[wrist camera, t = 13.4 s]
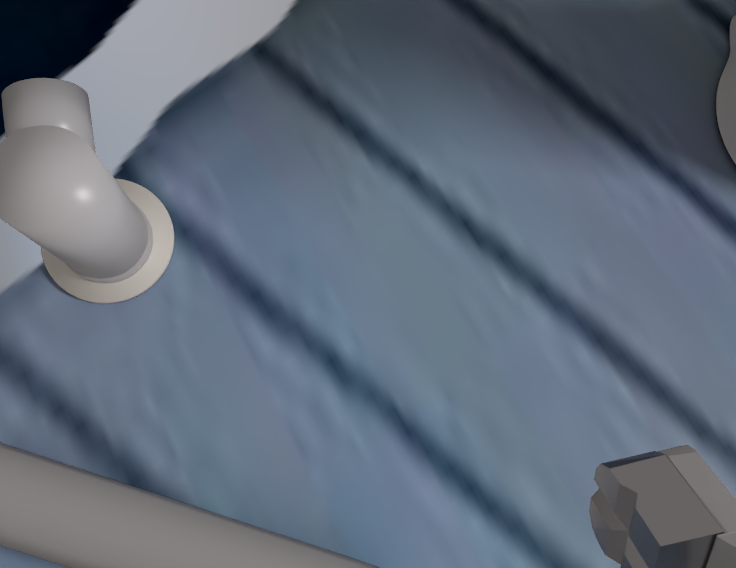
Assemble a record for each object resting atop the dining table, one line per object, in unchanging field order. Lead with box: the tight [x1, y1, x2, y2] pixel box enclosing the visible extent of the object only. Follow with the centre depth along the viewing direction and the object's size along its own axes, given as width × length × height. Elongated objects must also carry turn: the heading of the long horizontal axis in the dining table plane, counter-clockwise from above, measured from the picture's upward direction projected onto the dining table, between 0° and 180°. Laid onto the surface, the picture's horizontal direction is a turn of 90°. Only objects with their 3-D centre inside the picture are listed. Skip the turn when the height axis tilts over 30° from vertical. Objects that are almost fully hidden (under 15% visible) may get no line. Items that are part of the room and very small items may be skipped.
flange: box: [41, 179, 174, 304], centre depth 43 cm, size 8×8×1 cm
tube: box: [0, 442, 379, 568], centre depth 38 cm, size 5×5×25 cm
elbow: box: [0, 78, 153, 284], centre depth 37 cm, size 8×6×11 cm
